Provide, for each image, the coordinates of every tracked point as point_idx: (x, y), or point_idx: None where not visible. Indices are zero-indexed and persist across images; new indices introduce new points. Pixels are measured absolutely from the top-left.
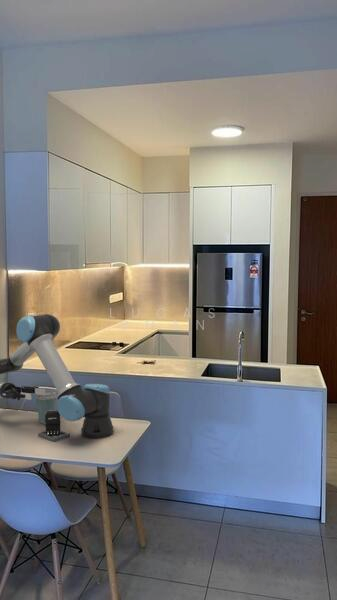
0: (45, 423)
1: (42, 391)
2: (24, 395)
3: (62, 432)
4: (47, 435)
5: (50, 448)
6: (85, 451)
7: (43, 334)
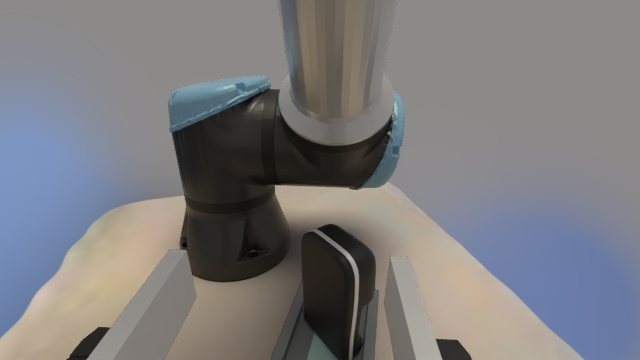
0: (360, 312)
1: (174, 294)
2: (438, 344)
3: (301, 306)
4: (367, 331)
5: (424, 277)
6: (373, 214)
7: None
